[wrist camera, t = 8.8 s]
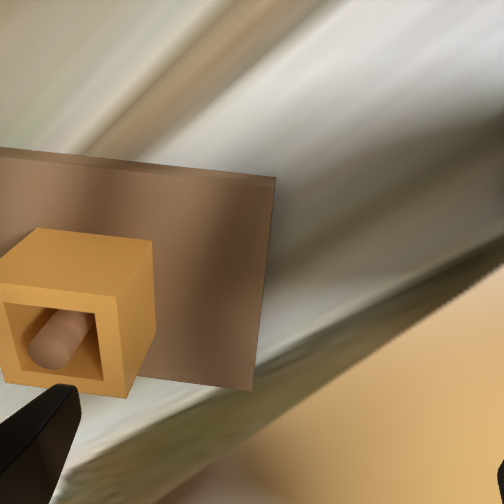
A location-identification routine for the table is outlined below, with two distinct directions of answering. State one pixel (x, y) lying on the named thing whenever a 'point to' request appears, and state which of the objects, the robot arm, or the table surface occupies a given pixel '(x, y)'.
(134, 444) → the table surface
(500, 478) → the robot arm
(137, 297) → the orange square block
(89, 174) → the peg board
